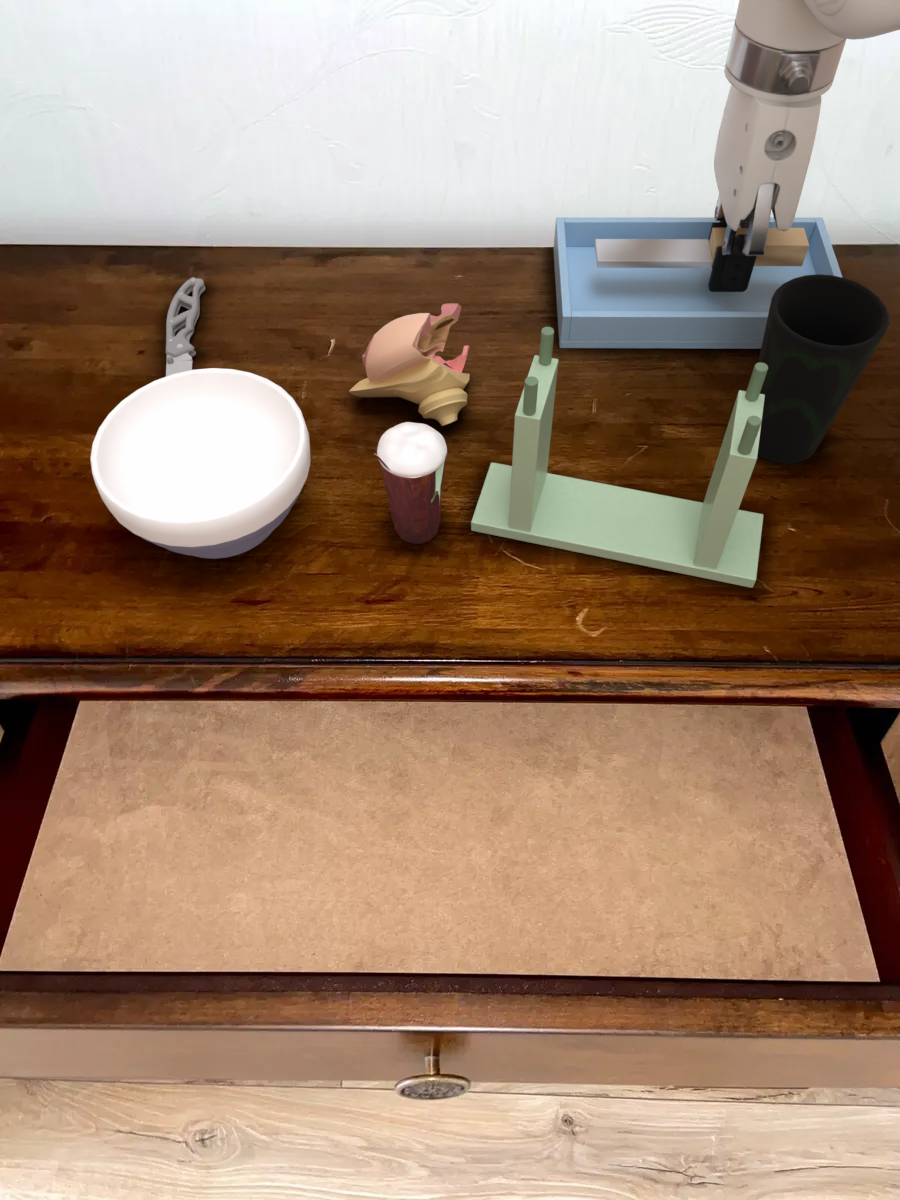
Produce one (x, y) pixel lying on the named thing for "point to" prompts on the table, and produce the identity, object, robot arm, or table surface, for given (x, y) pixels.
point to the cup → (813, 359)
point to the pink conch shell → (417, 365)
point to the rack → (626, 495)
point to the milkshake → (413, 478)
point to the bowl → (203, 461)
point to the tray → (665, 289)
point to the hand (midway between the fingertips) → (724, 275)
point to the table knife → (697, 250)
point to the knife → (182, 326)
